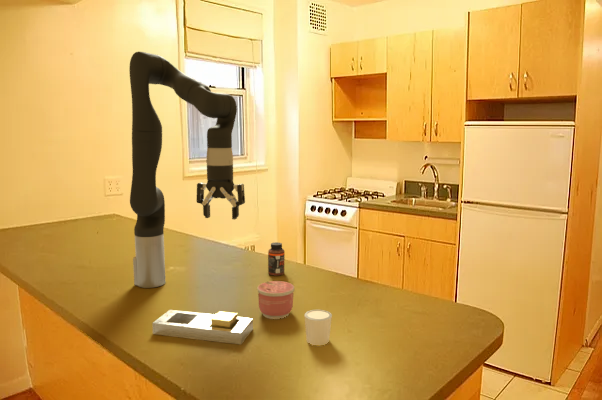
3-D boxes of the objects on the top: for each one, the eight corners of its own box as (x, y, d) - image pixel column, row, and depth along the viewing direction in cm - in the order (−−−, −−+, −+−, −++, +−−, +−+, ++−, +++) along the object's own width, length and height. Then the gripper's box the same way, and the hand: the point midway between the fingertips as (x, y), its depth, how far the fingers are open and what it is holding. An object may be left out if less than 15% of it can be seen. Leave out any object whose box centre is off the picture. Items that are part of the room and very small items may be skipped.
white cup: (303, 335, 119) (303, 309, 118) (329, 334, 120) (329, 308, 119) (305, 347, 112) (305, 320, 111) (333, 346, 113) (334, 319, 112)
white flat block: (152, 333, 119) (152, 322, 119) (170, 320, 128) (169, 309, 127) (240, 344, 114) (240, 332, 113) (252, 329, 122) (252, 318, 122)
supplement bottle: (282, 276, 165) (282, 246, 163) (266, 275, 166) (266, 245, 165) (286, 271, 171) (286, 242, 169) (270, 270, 172) (270, 241, 170)
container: (274, 303, 140) (274, 278, 139) (301, 312, 134) (301, 286, 132) (249, 314, 132) (249, 287, 131) (277, 324, 126) (277, 296, 124)
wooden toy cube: (211, 337, 118) (211, 318, 117) (219, 329, 122) (219, 311, 122) (230, 339, 116) (229, 320, 116) (237, 331, 121) (237, 313, 121)
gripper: (247, 163, 136) (248, 217, 139) (202, 161, 139) (204, 214, 142) (238, 165, 129) (239, 222, 131) (191, 163, 132) (193, 219, 135)
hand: (221, 218), depth 137 cm, fingers open, 8 cm apart
